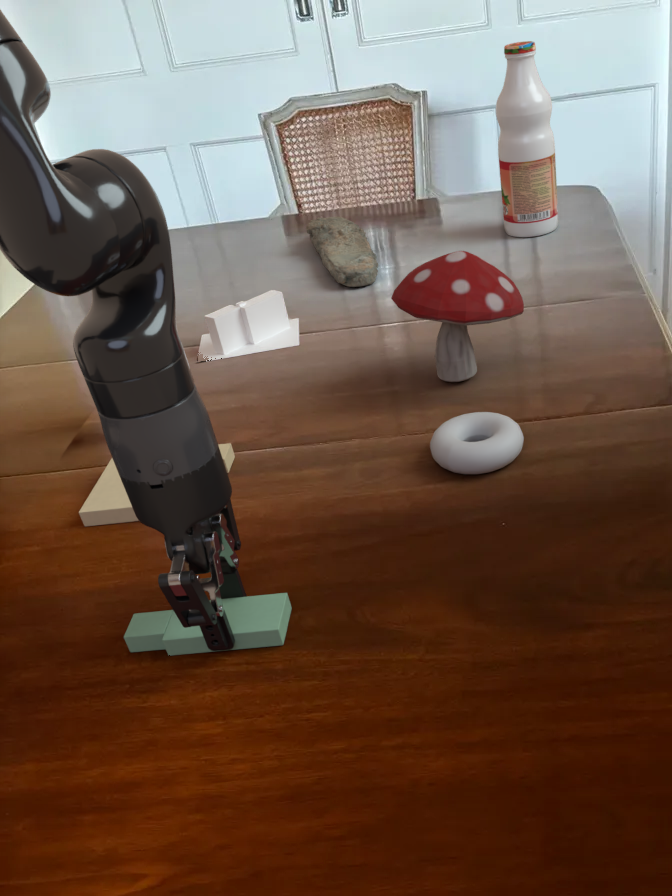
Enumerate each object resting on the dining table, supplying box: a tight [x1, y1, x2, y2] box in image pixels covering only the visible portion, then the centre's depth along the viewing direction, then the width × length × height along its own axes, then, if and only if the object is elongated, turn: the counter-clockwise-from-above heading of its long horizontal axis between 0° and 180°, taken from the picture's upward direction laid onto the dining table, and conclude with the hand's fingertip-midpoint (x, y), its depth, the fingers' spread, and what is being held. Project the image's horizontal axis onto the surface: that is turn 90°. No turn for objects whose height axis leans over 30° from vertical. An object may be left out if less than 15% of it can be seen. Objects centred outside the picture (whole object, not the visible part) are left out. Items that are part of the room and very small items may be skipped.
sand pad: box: [78, 442, 236, 528], centre depth 98 cm, size 14×12×2 cm
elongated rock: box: [305, 216, 379, 288], centre depth 155 cm, size 35×5×10 cm
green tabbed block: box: [123, 592, 292, 657], centre depth 77 cm, size 14×5×2 cm, turn 90°
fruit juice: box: [495, 40, 559, 238], centre depth 148 cm, size 9×9×28 cm
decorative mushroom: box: [390, 250, 525, 383], centre depth 108 cm, size 16×16×15 cm
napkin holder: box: [197, 289, 300, 362], centre depth 130 cm, size 15×11×6 cm
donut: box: [429, 411, 525, 475], centre depth 95 cm, size 10×4×10 cm
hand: (229, 625), depth 77 cm, fingers closed on green tabbed block, 5 cm apart
